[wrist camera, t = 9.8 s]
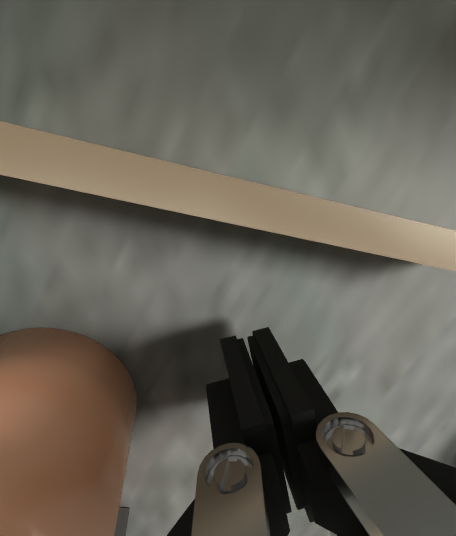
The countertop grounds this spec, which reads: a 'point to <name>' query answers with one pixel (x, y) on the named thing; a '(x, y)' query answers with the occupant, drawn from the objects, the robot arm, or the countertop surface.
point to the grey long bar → (121, 522)
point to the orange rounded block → (62, 434)
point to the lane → (217, 197)
